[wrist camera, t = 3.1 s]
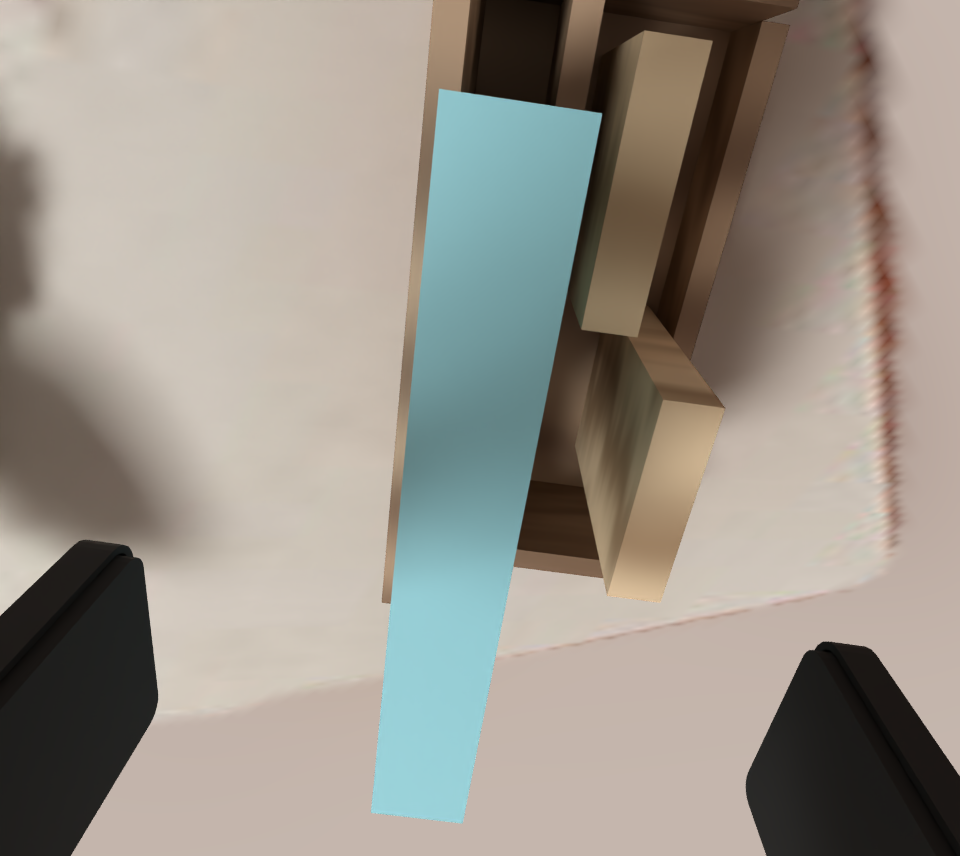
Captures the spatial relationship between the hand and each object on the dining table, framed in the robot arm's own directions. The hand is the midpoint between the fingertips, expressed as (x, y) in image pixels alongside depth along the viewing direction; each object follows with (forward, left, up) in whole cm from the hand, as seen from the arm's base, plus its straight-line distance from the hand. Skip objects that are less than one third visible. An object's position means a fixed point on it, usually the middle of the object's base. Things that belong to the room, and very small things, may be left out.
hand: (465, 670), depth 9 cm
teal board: (0, 0, -24) cm, 24 cm away
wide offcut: (-5, +4, -24) cm, 25 cm away
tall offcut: (+4, +7, -24) cm, 25 cm away
